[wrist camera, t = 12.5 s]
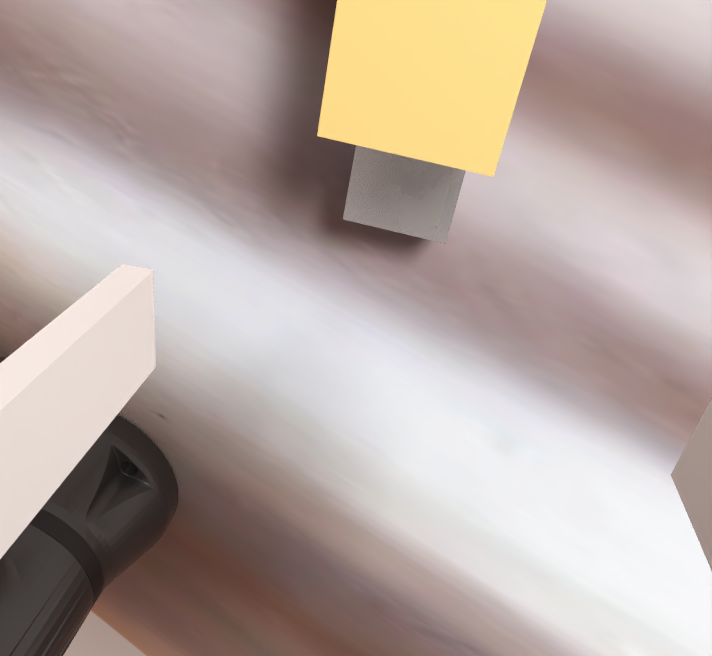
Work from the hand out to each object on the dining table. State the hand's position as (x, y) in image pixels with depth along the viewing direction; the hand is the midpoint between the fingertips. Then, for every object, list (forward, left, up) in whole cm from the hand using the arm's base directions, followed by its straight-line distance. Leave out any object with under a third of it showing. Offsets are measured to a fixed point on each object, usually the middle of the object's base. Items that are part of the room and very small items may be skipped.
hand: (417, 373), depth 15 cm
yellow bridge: (-2, +7, -21) cm, 23 cm away
